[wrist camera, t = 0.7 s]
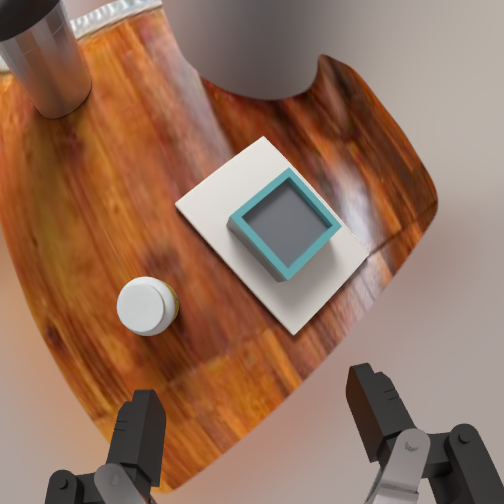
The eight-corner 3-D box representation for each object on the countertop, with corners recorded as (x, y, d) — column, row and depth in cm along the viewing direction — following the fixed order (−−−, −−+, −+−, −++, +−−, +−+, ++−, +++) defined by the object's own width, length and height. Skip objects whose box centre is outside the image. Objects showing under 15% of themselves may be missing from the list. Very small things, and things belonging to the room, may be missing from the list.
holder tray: (175, 206, 34) (172, 191, 29) (261, 139, 37) (270, 119, 32) (291, 334, 34) (306, 339, 29) (365, 255, 37) (386, 249, 33)
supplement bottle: (139, 274, 32) (117, 266, 23) (184, 287, 33) (179, 283, 24) (128, 321, 31) (103, 329, 22) (173, 333, 32) (164, 348, 23)
